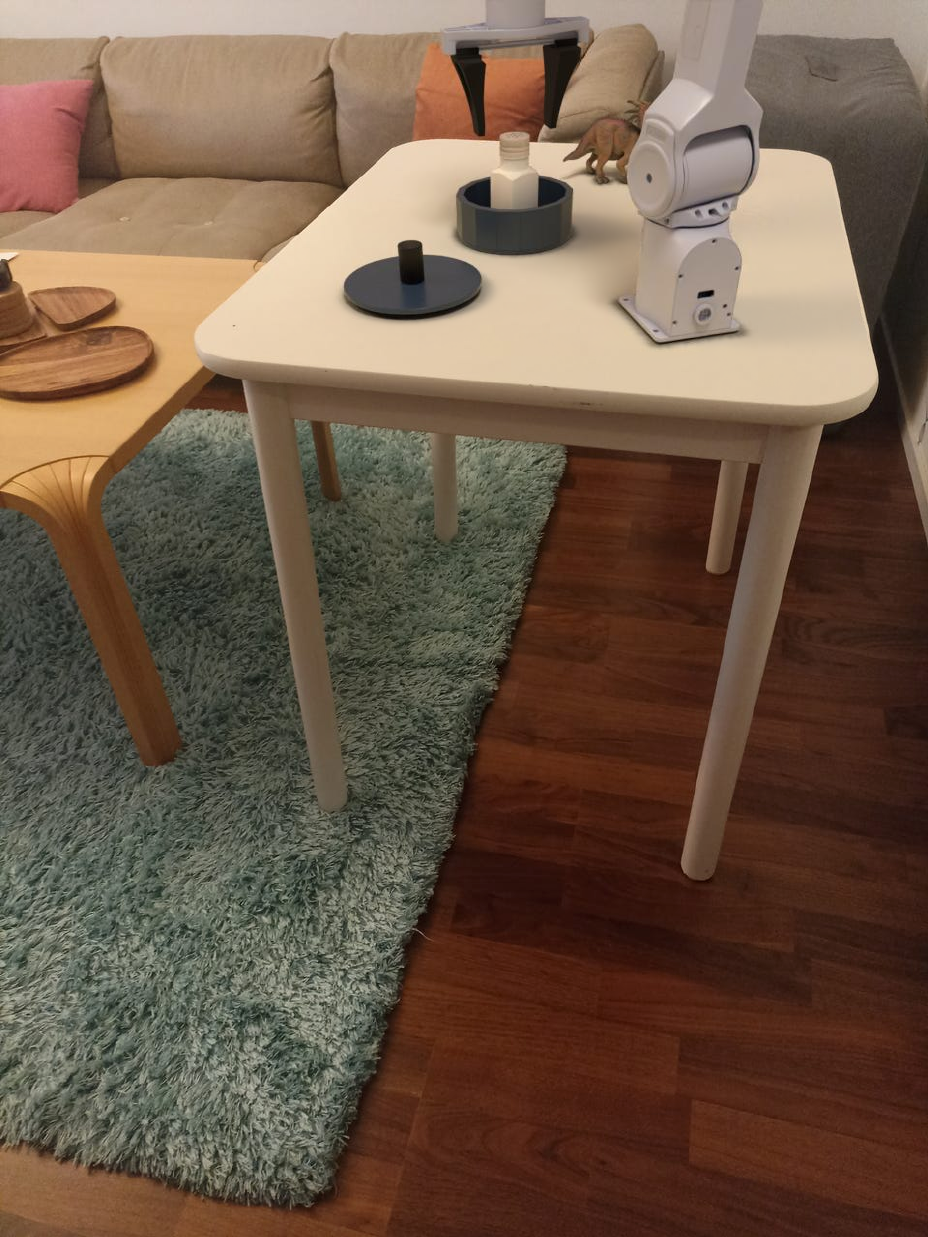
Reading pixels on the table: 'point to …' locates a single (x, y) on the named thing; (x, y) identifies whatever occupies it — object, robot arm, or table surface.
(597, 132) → the dinosaur figurine
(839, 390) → the table surface
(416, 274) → the lid
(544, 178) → the pot
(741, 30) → the robot arm
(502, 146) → the salt shaker
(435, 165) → the table surface
